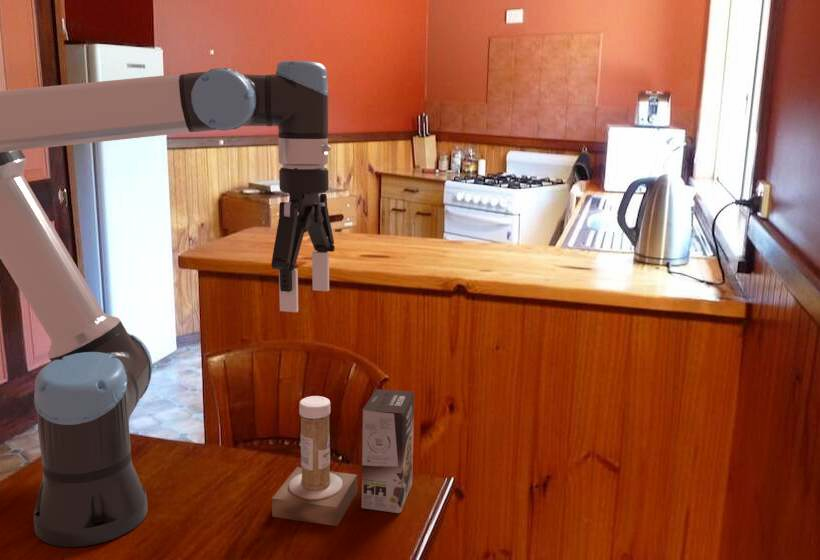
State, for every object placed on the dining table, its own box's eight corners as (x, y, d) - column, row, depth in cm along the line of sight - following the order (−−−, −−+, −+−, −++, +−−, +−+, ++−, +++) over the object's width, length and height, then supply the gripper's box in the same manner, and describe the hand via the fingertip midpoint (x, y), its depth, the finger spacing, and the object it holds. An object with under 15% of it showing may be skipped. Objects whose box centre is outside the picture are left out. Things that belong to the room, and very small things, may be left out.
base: (272, 516, 108) (271, 495, 108) (297, 483, 118) (297, 464, 117) (337, 526, 106) (336, 504, 106) (357, 492, 116) (357, 472, 115)
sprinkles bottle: (333, 488, 110) (333, 404, 107) (303, 493, 109) (302, 408, 105) (327, 474, 114) (326, 393, 111) (298, 478, 113) (296, 396, 110)
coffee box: (401, 514, 110) (403, 413, 106) (360, 509, 111) (360, 409, 107) (413, 484, 118) (416, 390, 115) (375, 480, 120) (375, 387, 116)
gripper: (295, 173, 100) (297, 323, 105) (352, 161, 124) (352, 284, 129) (244, 171, 102) (249, 319, 107) (310, 160, 126) (312, 281, 130)
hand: (305, 300), depth 118 cm, fingers open, 13 cm apart
